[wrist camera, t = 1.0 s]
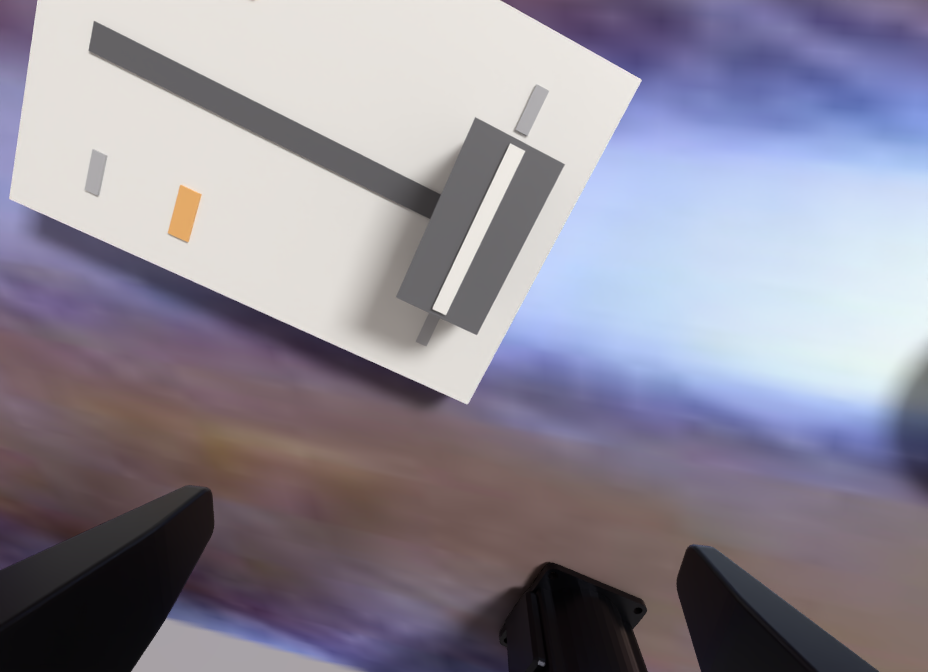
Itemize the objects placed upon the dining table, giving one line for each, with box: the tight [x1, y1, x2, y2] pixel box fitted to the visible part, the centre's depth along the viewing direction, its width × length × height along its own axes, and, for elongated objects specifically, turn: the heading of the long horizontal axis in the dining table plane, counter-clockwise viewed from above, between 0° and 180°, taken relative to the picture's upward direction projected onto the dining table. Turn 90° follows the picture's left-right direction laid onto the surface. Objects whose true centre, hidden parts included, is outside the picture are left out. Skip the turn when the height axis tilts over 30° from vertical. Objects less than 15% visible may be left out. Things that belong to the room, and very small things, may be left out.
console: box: [9, 0, 642, 405], centre depth 17 cm, size 20×14×3 cm
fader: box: [396, 117, 565, 335], centre depth 15 cm, size 3×6×3 cm, turn 154°
